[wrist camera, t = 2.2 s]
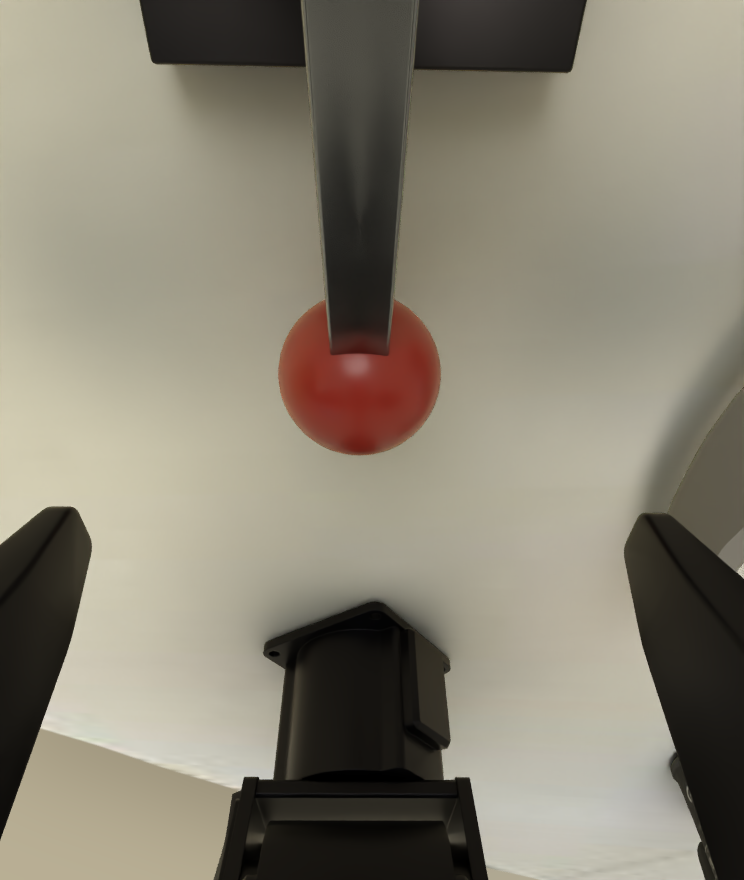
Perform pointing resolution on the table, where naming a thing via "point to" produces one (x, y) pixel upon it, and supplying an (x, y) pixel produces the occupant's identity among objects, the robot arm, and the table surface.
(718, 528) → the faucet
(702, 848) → the milk frother
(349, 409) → the tap lever
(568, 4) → the bracket
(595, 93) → the table surface
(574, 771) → the table surface
